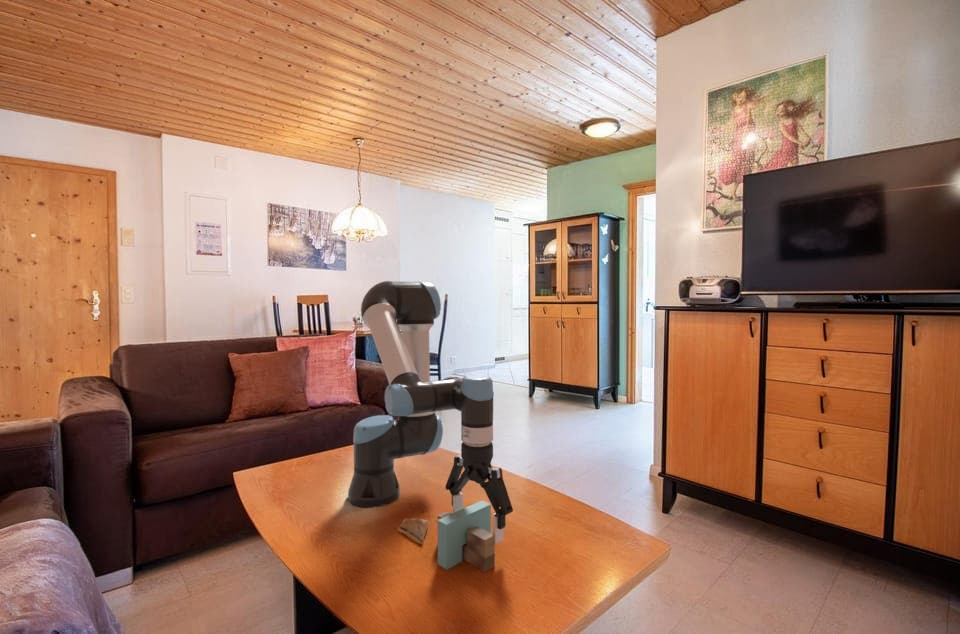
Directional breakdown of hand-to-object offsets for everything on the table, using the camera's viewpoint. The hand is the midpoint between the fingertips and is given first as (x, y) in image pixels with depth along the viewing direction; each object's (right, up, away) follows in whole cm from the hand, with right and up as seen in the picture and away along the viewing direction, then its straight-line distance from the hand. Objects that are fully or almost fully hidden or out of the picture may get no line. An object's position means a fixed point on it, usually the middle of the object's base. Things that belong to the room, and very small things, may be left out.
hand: (477, 530), depth 107 cm
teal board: (-3, -4, -3) cm, 6 cm away
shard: (-15, -5, +8) cm, 17 cm away
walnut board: (-3, -4, -3) cm, 6 cm away
